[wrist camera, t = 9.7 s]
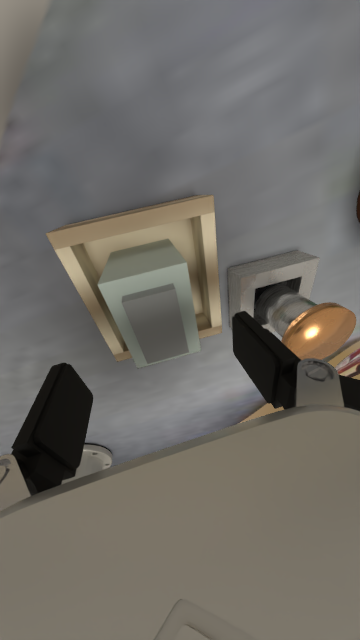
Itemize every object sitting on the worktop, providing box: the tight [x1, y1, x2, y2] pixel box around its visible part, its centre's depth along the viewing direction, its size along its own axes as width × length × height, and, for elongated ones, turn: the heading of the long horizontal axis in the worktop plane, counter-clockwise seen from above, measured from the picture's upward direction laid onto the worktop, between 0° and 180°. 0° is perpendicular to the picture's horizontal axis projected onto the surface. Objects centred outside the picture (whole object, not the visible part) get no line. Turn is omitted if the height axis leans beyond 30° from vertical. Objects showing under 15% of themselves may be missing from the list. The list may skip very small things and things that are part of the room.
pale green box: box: [97, 239, 201, 368], centre depth 15 cm, size 5×7×8 cm
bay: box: [46, 195, 222, 362], centre depth 17 cm, size 12×11×4 cm
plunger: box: [256, 284, 356, 360], centre depth 18 cm, size 6×6×6 cm
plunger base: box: [228, 250, 320, 332], centre depth 21 cm, size 8×8×3 cm
